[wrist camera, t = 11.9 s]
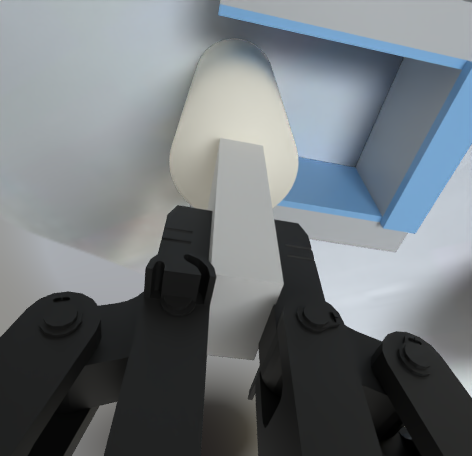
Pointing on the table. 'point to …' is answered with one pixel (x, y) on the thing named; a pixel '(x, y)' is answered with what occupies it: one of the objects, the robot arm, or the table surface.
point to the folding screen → (383, 115)
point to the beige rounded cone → (232, 121)
